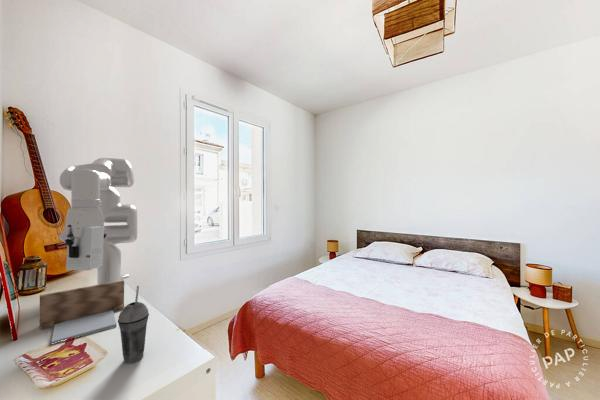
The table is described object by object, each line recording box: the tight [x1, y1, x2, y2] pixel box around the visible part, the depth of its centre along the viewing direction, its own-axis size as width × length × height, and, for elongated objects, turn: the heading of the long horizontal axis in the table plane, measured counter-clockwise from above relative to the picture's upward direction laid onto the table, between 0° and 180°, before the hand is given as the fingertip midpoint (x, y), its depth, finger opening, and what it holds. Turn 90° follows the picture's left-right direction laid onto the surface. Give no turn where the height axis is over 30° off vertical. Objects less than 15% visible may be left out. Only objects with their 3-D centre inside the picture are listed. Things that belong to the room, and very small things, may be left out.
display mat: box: [50, 310, 117, 343], centre depth 84 cm, size 16×14×1 cm
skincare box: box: [65, 225, 105, 271], centre depth 85 cm, size 8×6×15 cm
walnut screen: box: [39, 279, 125, 330], centre depth 93 cm, size 24×6×11 cm, turn 132°
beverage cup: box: [117, 285, 150, 365], centre depth 68 cm, size 7×7×20 cm
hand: (86, 254), depth 85 cm, fingers closed on skincare box, 6 cm apart
